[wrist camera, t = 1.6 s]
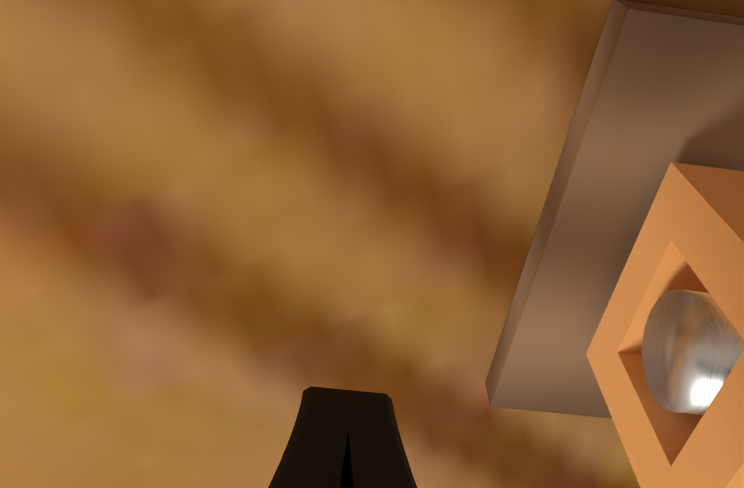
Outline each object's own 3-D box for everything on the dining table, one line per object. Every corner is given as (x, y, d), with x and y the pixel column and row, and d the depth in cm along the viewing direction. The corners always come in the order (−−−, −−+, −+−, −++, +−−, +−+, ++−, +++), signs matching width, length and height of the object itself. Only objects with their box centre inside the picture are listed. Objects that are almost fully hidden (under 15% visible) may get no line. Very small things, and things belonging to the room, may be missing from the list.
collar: (654, 360, 18) (765, 570, 13) (586, 353, 17) (671, 562, 12) (753, 172, 14) (957, 354, 9) (670, 161, 14) (832, 340, 9)
